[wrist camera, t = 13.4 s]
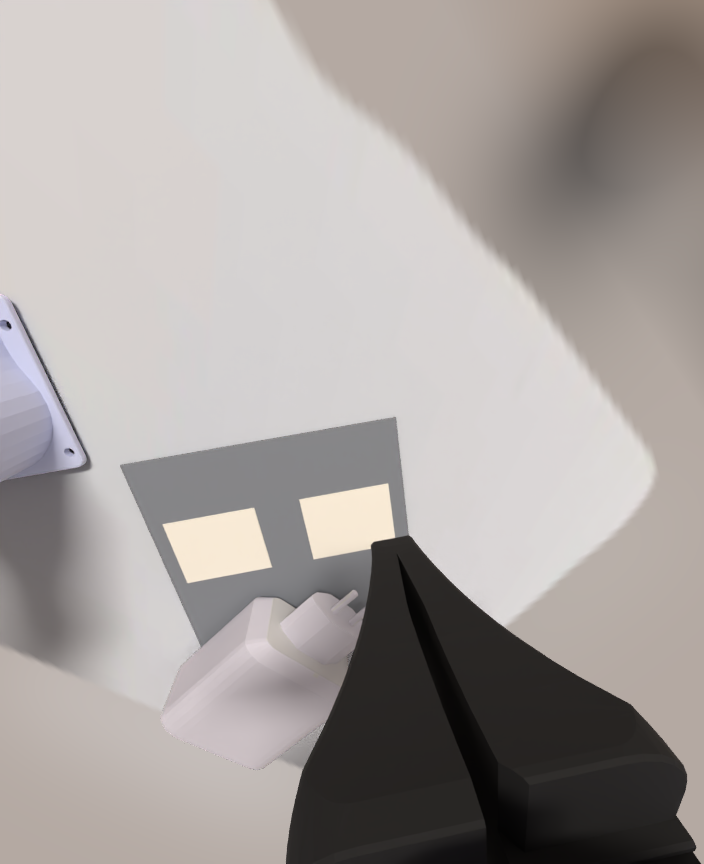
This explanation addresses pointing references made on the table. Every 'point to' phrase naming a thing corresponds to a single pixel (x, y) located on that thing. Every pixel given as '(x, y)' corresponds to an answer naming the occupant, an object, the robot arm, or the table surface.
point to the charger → (264, 678)
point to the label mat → (273, 518)
